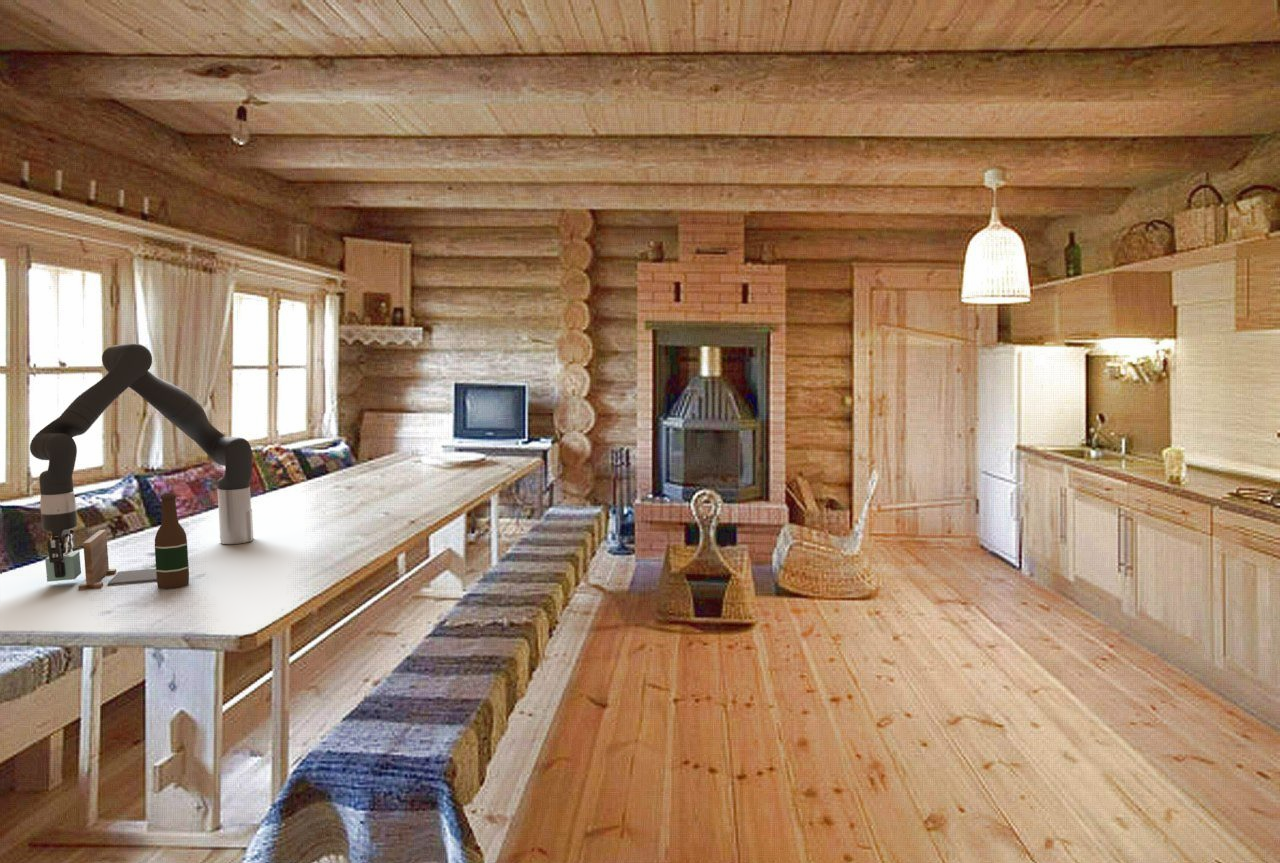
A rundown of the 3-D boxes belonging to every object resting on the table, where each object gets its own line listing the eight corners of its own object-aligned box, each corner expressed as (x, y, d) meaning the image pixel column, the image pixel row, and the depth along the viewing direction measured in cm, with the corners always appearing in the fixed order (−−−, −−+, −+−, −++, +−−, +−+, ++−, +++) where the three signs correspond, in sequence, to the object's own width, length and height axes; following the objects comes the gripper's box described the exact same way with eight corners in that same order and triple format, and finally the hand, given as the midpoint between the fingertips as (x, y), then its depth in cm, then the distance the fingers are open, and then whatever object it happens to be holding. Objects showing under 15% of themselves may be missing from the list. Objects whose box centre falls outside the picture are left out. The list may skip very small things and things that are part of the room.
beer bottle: (165, 581, 220) (159, 491, 217) (195, 580, 220) (190, 490, 218) (150, 590, 212) (144, 496, 210) (182, 589, 213) (176, 496, 210)
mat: (168, 569, 232) (168, 567, 232) (160, 580, 220) (160, 578, 220) (118, 573, 228) (118, 571, 227) (107, 585, 216) (107, 583, 216)
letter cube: (81, 573, 221) (79, 549, 220) (74, 579, 215) (72, 555, 215) (54, 575, 219) (52, 552, 218) (47, 581, 213) (45, 557, 213)
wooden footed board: (116, 572, 229) (113, 529, 228) (101, 587, 214) (98, 541, 213) (95, 574, 227) (92, 530, 226) (78, 589, 212) (75, 543, 211)
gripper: (67, 514, 210) (73, 579, 212) (83, 504, 223) (88, 565, 225) (32, 516, 207) (38, 582, 209) (50, 506, 221) (55, 568, 223)
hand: (64, 573), depth 217 cm, fingers closed on letter cube, 6 cm apart
